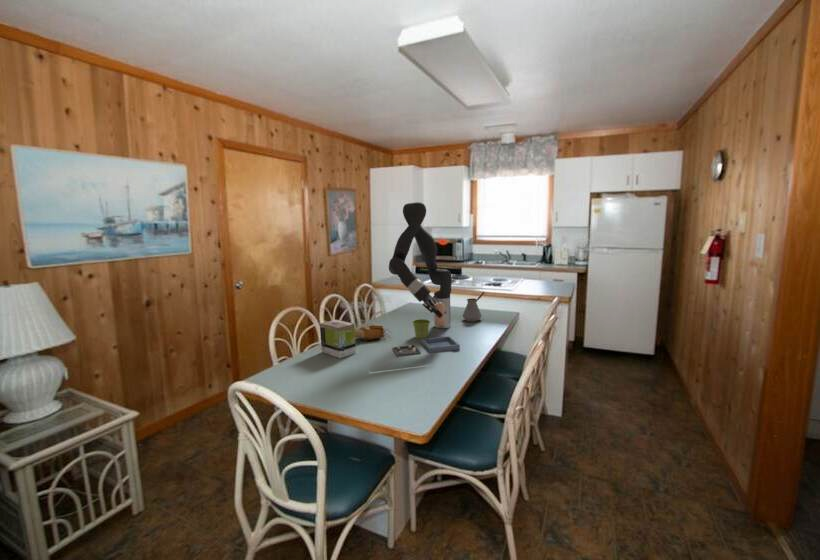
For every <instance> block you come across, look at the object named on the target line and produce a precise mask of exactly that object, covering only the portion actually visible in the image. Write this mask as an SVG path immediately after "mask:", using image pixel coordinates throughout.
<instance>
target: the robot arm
mask: <svg viewBox="0 0 820 560" xmlns="http://www.w3.org/2000/svg"><path fill="white" fill-rule="evenodd" d="M402 214H403V218H404V220H405V221H406V223H407V227H406V229H405V230H403V232H402V233H401V234H400V236H399V238H398V239H397V240H396V244H395V247H394V251H393V255H392V258H390V260H389V263H388V270H389V272H390V274H392V275H396V276H398V277H399V279H400V282H401V283H402V284H403V285H404V286H405V288H407V289H408V291H409V293H410V294H411V295H413V296H414V298H415V299H416V300H417V301H418V302H423V303H422V306H423V307H424V308H426V309H427V311H428V312H430V313H431V314H432V313H433V314H434V313H435V314H436V315H437V316H438V317H439V318H441V317H442V316H443V314H442V313H441V312H440V311H439V310H437V308H436V307H435V303H438V302H441V303H443V304H444V309H445V325H443V326H436V325H435V324H434V327H435V328H437V329H448V328H451V325H452V324H451V321H452V319H451V318H452V317H451V315H452V314H451V293H452V280H453V278H452V273H451V271H450V270H448V269H445V268H444V269H443V268H441V269H440V268H439V267H438V264H437V261H436V259H437V255H438V247H437V244H436V241H435V239H434V237H433V236H432V234H430V233H429V232H428V231H427V229H425V228H424V227H423V226H422V223H423V222H424V220H425V218H426V215H427V208H426V205H425V204H424V202H422V201H419V202H417V201H416V202H409V203H405V204H404V205H403V207H402ZM414 239H415V241H416V244H417V247H418V249H419V252H420V254H421V255H422V256H421V257H422V258H423V260H424V263H425V266H426V269H427V273H428V275H429V279H430V281H431V283H432V284H433V285H435V286H439V290H437V291H434V293H433V296H432V295H430V293H431V290H430V288H428V287H427V286H426V284H424V282H423V281H421V280H420V279H419V278H418V276H416V275H415V274H414V273H413V272H412V271H411V270H410V268H409V267H408V265H407V264H406V259H407V256H408V254H409V251H410V249H411V246H412V243H413V240H414Z"/></svg>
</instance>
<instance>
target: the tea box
mask: <svg viewBox="0 0 820 560" xmlns="http://www.w3.org/2000/svg"><path fill="white" fill-rule="evenodd" d="M355 329H356V328H355V323H353V322H348V321H345V320H340V319H333V320H328V321H324V322H321V323H319V332H320V344H321V345H320V346H321V353H324V354H326V355H329V356H332V357H334V358H339V359H344V358H346V357H348V356H351V355H354V354H356V353H357V345H356V337H355Z"/></svg>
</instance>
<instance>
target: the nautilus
mask: <svg viewBox="0 0 820 560" xmlns="http://www.w3.org/2000/svg"><path fill="white" fill-rule="evenodd" d="M386 331H387V332H386ZM388 332H390V333H391V331H389V330H388V329H384V326H383V325H381V324H378V323H365V324H363V325H360V326H358V327H356V328H355V339H356V338H357V339H360V340H363V341H370V340H376V339H382V340H384V341H386V340H387V339H388V340H390V338H391V339H392V337H391V336H390V334H389V333H388ZM385 337H386V338H385Z"/></svg>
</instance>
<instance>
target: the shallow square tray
mask: <svg viewBox="0 0 820 560" xmlns="http://www.w3.org/2000/svg"><path fill="white" fill-rule="evenodd" d="M421 343H422V345H423V346H424V347H425V349H427V351H428V352H429V353H437V352H445V351H446V352H447V351H450V352H453V351H454V352H455V351H460V350H461V349H460V348H461V347H460V346H461V345H460V344H459V343H458V342H457V341H456V340H455V339H453V338H452V337H451V336H449V335H447V336H439V337H431V338H430V337H429V338H428V337H427V338H421Z"/></svg>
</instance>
